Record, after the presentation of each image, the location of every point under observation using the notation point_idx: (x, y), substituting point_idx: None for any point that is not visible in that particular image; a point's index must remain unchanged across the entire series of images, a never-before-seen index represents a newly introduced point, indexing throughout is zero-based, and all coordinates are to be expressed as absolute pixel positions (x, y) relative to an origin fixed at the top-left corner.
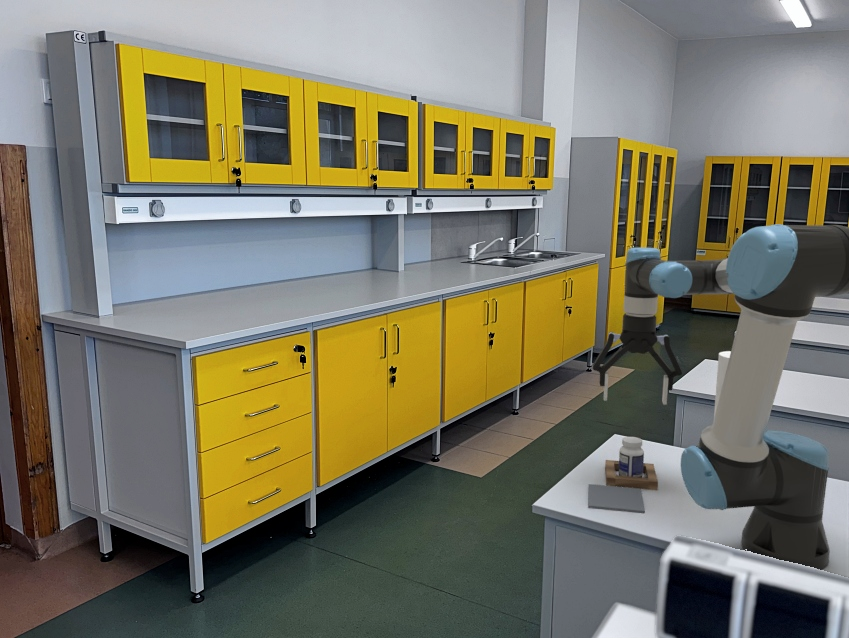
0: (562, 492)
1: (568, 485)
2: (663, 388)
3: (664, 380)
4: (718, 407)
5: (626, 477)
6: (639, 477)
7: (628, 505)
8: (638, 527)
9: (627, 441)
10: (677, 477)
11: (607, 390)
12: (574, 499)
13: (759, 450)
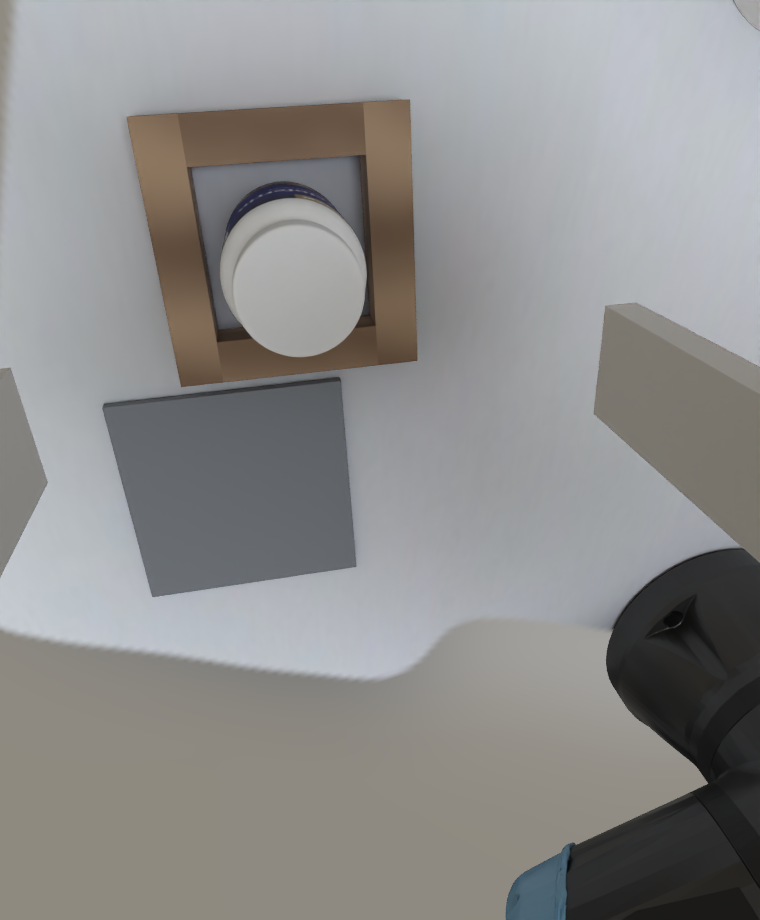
0: None
1: None
2: (683, 409)
3: (748, 506)
4: None
5: (273, 354)
6: None
7: (296, 547)
8: (334, 653)
9: (270, 339)
10: (516, 152)
11: (13, 548)
12: (83, 547)
13: None
